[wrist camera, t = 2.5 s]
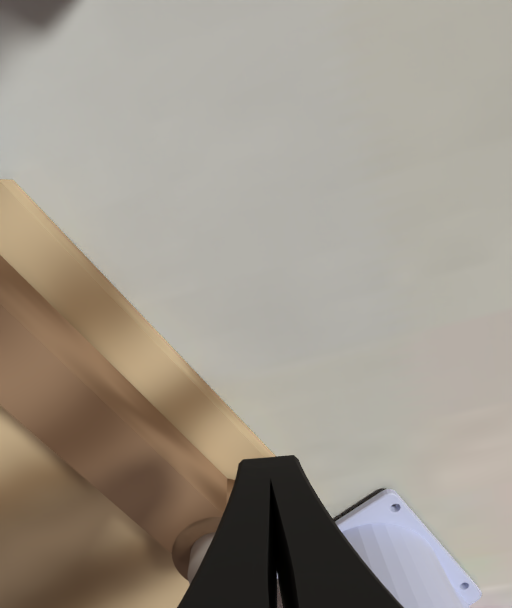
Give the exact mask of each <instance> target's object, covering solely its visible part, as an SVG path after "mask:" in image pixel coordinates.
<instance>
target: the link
mask: <svg viewBox="0 0 512 608" xmlns="http://www.w3.org/2000/svg"><path fill="white" fill-rule="evenodd" d="M0 405H1V406H2V407H3V408H4V409H5V410H7V411H8V412H9V413H10V414H11V415H12V416H13V417H15V418H16V419H17V420H18V421H19V422H20V423H21V424H23V425H24V426H25V427H26V428H27V429H28V430H30V431H31V432H32V433H33V434H34V435H35V436H36V437H38V438H39V439H40V440H41V441H42V442H43V443H45V444H46V445H47V446H48V447H49V448H50V449H51V450H53V451H54V452H55V453H56V454H57V455H58V456H59V457H61V458H62V459H63V460H64V461H65V462H66V463H68V464H69V465H70V466H71V467H72V468H73V469H74V470H76V471H77V472H78V473H79V474H80V475H81V476H83V477H84V478H85V479H86V480H87V481H88V482H89V483H91V484H92V485H93V486H94V487H95V488H96V489H98V490H99V491H100V492H101V493H102V494H103V495H104V496H106V497H107V498H108V499H109V500H110V501H111V502H112V503H114V504H115V505H116V506H117V507H118V508H119V509H121V510H122V511H123V512H124V513H125V514H126V515H127V516H129V517H130V518H131V519H132V520H133V521H134V522H136V523H137V524H138V525H139V526H140V527H141V528H142V529H144V530H145V531H146V532H147V533H148V534H149V535H150V536H152V537H153V538H154V539H155V540H156V541H157V542H159V543H160V544H161V545H162V546H163V547H164V548H165V549H167V550H168V551H169V552H170V553H171V554H172V559H173V563H174V566H175V567H176V569H177V571H178V572H179V573H180V574H181V575H182V576H183V577H184V578H185V579H186V580H188V581H189V584H191V582H192V580H193V578H194V576H195V574H196V572H197V570H198V568H199V566H200V564H201V562H202V560H203V558H204V556H205V554H206V552H207V550H208V548H209V546H210V543H211V541H212V539H213V537H214V535H215V533H216V530H217V528H218V525H219V523H220V520H221V518H222V516H223V513H224V511H225V508H226V506H227V503H228V500H229V497H230V494H231V491H232V488H233V485H234V482H235V480H233V479H228V478H227V477H226V476H225V475H223V474H222V473H221V472H220V471H219V470H218V469H217V468H216V467H215V466H214V465H213V464H212V463H211V462H210V461H209V460H208V459H207V458H206V457H205V456H204V455H203V454H202V453H201V452H200V451H199V450H198V449H197V448H196V447H195V446H194V445H193V444H192V443H191V442H190V441H189V440H188V439H187V438H186V437H185V436H184V435H183V434H182V433H181V432H180V431H179V430H178V429H177V428H176V427H175V426H174V425H173V424H172V423H171V422H170V421H169V420H168V419H167V418H166V417H165V416H164V415H163V414H161V413H160V412H159V411H158V410H157V409H156V408H155V407H154V406H153V405H152V404H151V403H150V402H149V401H148V400H147V399H146V398H145V397H144V396H143V395H142V394H141V393H140V392H139V391H138V390H137V389H136V388H135V387H134V386H133V385H132V384H131V383H130V382H129V381H128V380H127V379H126V378H125V377H124V376H123V375H122V374H121V373H120V372H119V371H118V370H117V369H116V368H115V367H114V366H113V365H112V364H111V363H110V362H109V361H108V360H107V359H106V358H105V357H104V356H103V355H102V354H101V353H100V352H98V351H97V350H96V349H95V348H94V347H93V346H92V345H91V344H90V343H89V342H88V341H87V340H86V339H85V338H84V337H83V336H82V335H81V334H80V333H79V332H78V331H77V330H76V329H75V328H74V327H73V326H72V325H71V324H70V323H69V322H68V321H67V320H66V319H65V318H64V317H63V316H62V315H61V314H60V313H59V312H58V311H57V310H56V309H55V308H54V307H53V306H52V305H51V304H50V303H49V302H48V301H47V300H46V299H45V298H44V297H43V296H42V295H41V294H40V293H39V292H38V291H36V290H35V289H34V288H33V287H32V286H31V285H30V284H29V283H28V282H27V281H26V280H25V279H24V278H23V277H22V276H21V275H20V274H19V273H18V272H17V271H16V270H15V269H14V268H13V267H12V266H11V265H10V264H9V263H8V262H7V261H6V260H5V259H4V258H3V257H2V256H1V255H0Z"/></svg>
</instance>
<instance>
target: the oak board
mask: <svg viewBox="0 0 512 608" xmlns="http://www.w3.org/2000/svg"><path fill="white" fill-rule="evenodd" d="M0 255H1V256H2V257H3V258H4V259H5V260H6V261H7V262H8V263H9V264H10V265H11V266H12V267H13V268H14V269H15V270H16V271H17V272H18V273H19V274H20V275H21V276H22V277H23V278H24V279H25V280H26V281H27V282H28V283H29V284H30V285H31V286H32V287H33V288H34V289H35V290H36V291H38V292H39V293H40V294H41V295H42V296H43V297H44V298H45V299H46V300H47V301H48V302H49V303H50V304H51V305H52V306H53V307H54V308H55V309H56V310H57V311H58V312H59V313H60V314H61V315H62V316H63V317H64V318H65V319H66V320H67V321H68V322H69V323H70V324H71V325H72V326H73V327H74V328H75V329H76V330H77V331H78V332H79V333H80V334H81V335H82V336H83V337H84V338H85V339H86V340H87V341H88V342H89V343H90V344H91V345H92V346H93V347H94V348H95V349H96V350H97V351H98V352H100V353H101V354H102V355H103V356H104V357H105V358H106V359H107V360H108V361H109V362H110V363H111V364H112V365H113V366H114V367H115V368H116V369H117V370H118V371H119V372H120V373H121V374H122V375H123V376H124V377H125V378H126V379H127V380H128V381H129V382H130V383H131V384H132V385H133V386H134V387H135V388H136V389H137V390H138V391H139V392H140V393H141V394H142V395H143V396H144V397H145V398H146V399H147V400H148V401H149V402H150V403H151V404H152V405H153V406H154V407H155V408H156V409H157V410H158V411H159V412H160V413H161V414H163V415H164V416H165V417H166V418H167V419H168V420H169V421H170V422H171V423H172V424H173V425H174V426H175V427H176V428H177V429H178V430H179V431H180V432H181V433H182V434H183V435H184V436H185V437H186V438H187V439H188V440H189V441H190V442H191V443H192V444H193V445H194V446H195V447H196V448H197V449H198V450H199V451H200V452H201V453H202V454H203V455H204V456H205V457H206V458H207V459H208V460H209V461H210V462H211V463H212V464H213V465H214V466H215V467H216V468H217V469H218V470H219V471H220V472H221V473H222V474H223V475H225V476H226V477H227V478H228V479H233V480H235V478H236V474H237V470H238V464H239V463H240V462H241V461H242V460H243V459H253V458H266V457H276V456H275V455H274V454H273V453H272V452H271V451H270V450H269V449H268V448H267V447H266V446H265V445H264V444H263V442H262V441H261V440H260V439H259V438H258V437H257V436H256V435H255V434H254V433H253V432H252V431H251V430H250V429H249V428H248V427H247V426H246V425H245V424H244V422H243V421H242V420H241V419H240V418H239V417H238V416H237V415H236V414H235V413H234V412H233V411H232V410H231V409H230V408H229V407H228V406H227V405H226V404H225V402H224V401H223V400H222V399H221V398H220V397H219V396H218V395H217V394H216V393H215V392H214V391H213V390H212V389H211V388H210V387H209V386H208V385H207V384H206V383H205V381H204V380H203V379H202V378H201V377H200V376H199V375H198V374H197V373H196V372H195V371H194V370H193V369H192V368H191V367H190V366H189V365H188V364H187V363H186V361H185V360H184V359H183V358H182V357H181V356H180V355H179V354H178V353H177V352H176V351H175V350H174V349H173V348H172V347H171V346H170V345H169V344H168V343H167V341H166V340H165V339H164V338H163V337H162V336H161V335H160V334H159V333H158V332H157V331H156V330H155V329H154V328H153V327H152V326H151V325H150V324H149V323H148V321H147V320H146V319H145V318H144V317H143V316H142V315H141V314H140V313H139V312H138V311H137V310H136V309H135V308H134V307H133V306H132V305H131V304H130V303H129V301H128V300H127V299H126V298H125V297H124V296H123V295H122V294H121V293H120V292H119V291H118V290H117V289H116V288H115V287H114V286H113V285H112V284H111V283H110V282H109V280H108V279H107V278H106V277H105V276H104V275H103V274H102V273H101V272H100V271H99V270H98V269H97V268H96V267H95V266H94V265H93V264H92V263H91V262H90V260H89V259H88V258H87V257H86V256H85V255H84V254H83V253H82V252H81V251H80V250H79V249H78V248H77V247H76V246H75V245H74V244H73V243H72V242H71V240H70V239H69V238H68V237H67V236H66V235H65V234H64V233H63V232H62V231H61V230H60V229H59V228H58V227H57V226H56V225H55V224H54V223H53V222H52V220H51V219H50V218H49V217H48V216H47V215H46V214H45V213H44V212H43V211H42V210H41V209H40V208H39V207H38V206H37V205H36V204H35V203H34V202H33V201H32V199H31V198H30V197H29V196H28V195H27V194H26V193H25V192H24V191H23V190H22V189H21V188H20V187H19V186H18V185H17V184H16V183H15V182H14V181H13V180H4V179H0ZM189 586H190V584H189V581H188V580H186V579H185V578H184V577H183V576H182V575H181V574H180V573H179V572H178V571H177V569H176V567H175V566H174V563H173V559H172V554H171V553H170V552H169V551H168V550H167V549H165V548H164V547H163V546H162V545H161V544H160V543H159V542H157V541H156V540H155V539H154V538H153V537H152V536H150V535H149V534H148V533H147V532H146V531H145V530H144V529H142V528H141V527H140V526H139V525H138V524H137V523H136V522H134V521H133V520H132V519H131V518H130V517H129V516H127V515H126V514H125V513H124V512H123V511H122V510H121V509H119V508H118V507H117V506H116V505H115V504H114V503H112V502H111V501H110V500H109V499H108V498H107V497H106V496H104V495H103V494H102V493H101V492H100V491H99V490H98V489H96V488H95V487H94V486H93V485H92V484H91V483H89V482H88V481H87V480H86V479H85V478H84V477H83V476H81V475H80V474H79V473H78V472H77V471H76V470H74V469H73V468H72V467H71V466H70V465H69V464H68V463H66V462H65V461H64V460H63V459H62V458H61V457H59V456H58V455H57V454H56V453H55V452H54V451H53V450H51V449H50V448H49V447H48V446H47V445H46V444H45V443H43V442H42V441H41V440H40V439H39V438H38V437H36V436H35V435H34V434H33V433H32V432H31V431H30V430H28V429H27V428H26V427H25V426H24V425H23V424H21V423H20V422H19V421H18V420H17V419H16V418H15V417H13V416H12V415H11V414H10V413H9V412H8V411H7V410H5V409H4V408H3V407H2V406H1V405H0V608H177V607H178V605H179V603H180V602H181V600H182V598H183V596H184V595H185V593H186V591H187V589H188V587H189Z"/></svg>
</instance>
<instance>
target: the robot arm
mask: <svg viewBox="0 0 512 608" xmlns="http://www.w3.org/2000/svg"><path fill="white" fill-rule="evenodd" d="M393 504H396V505H395V506H392V505H393ZM277 579H278V580H279V586H280V592H281V598H282V603H283V608H469V605H471V604H473V603H474V602H476V601H478V600H479V599H480V598H481V594H482V593H481V591H480V589H479V588H478V586H477V585H476V584H475V582H474V581H473V580H472V579H471V578H470V577H469V575H468V574H467V573H466V572H465V571H464V570H463V569H462V567H461V566H460V565H459V564H458V563H457V562H456V561H455V559H454V558H453V557H452V556H451V555H450V554H449V552H448V551H447V550H446V549H445V548H444V547H443V546H442V544H441V543H440V542H439V541H438V540H437V539H436V537H435V536H434V535H433V534H432V533H431V532H430V531H429V529H428V528H427V527H426V526H425V525H424V524H423V522H422V521H421V520H420V519H419V518H418V517H417V516H416V514H415V513H414V512H413V511H412V510H411V509H410V507H409V506H408V505H407V504H406V503H405V502H404V501H403V499H402V498H401V497H400V496H399V495H398V494H397V492H396V491H394V490H392V489H385V490H383V491H381V492H380V493H378V494H377V495H375V496H373V497H372V498H370V499H369V500H367V501H366V502H364V503H363V504H361V505H360V506H358V507H357V508H355V509H353V510H352V511H350V512H349V513H347V514H346V515H344V516H343V517H341V518H340V519H338V520H337V521H335V522H334V520H333V519H332V517H331V516H330V514H329V513H328V511H327V510H326V508H325V507H324V505H323V504H322V502H321V501H320V499H319V498H318V496H317V494H316V493H315V491H314V489H313V487H312V486H311V484H310V482H309V480H308V479H307V477H306V475H305V473H304V471H303V469H302V467H301V465H300V462H299V460H298V459H297V458H296V457H295V456H294V455H290V456H278V457H266V458H253V459H243V460H242V461H241V462H240V463H239V464H238V470H237V474H236V478H235V482H234V485H233V488H232V491H231V494H230V497H229V500H228V503H227V506H226V508H225V511H224V513H223V516H222V518H221V520H220V523H219V525H218V528H217V530H216V533H215V535H214V537H213V539H212V541H211V543H210V546H209V548H208V550H207V552H206V554H205V556H204V558H203V560H202V562H201V564H200V566H199V568H198V570H197V572H196V574H195V576H194V578H193V580H192V582H191V584H190V586H189V587H188V589H187V591H186V593H185V595H184V596H183V598H182V600H181V602H180V603H179V605H178V607H177V608H277Z"/></svg>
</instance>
